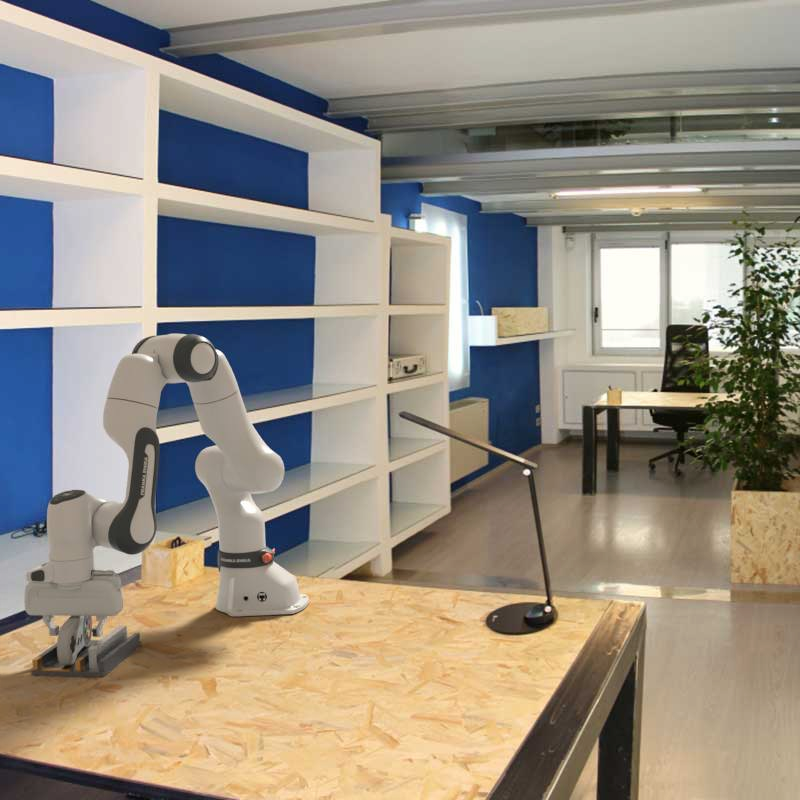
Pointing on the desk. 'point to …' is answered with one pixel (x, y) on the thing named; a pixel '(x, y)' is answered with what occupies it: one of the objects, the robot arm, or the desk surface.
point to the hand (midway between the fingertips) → (76, 635)
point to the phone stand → (90, 656)
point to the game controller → (73, 638)
